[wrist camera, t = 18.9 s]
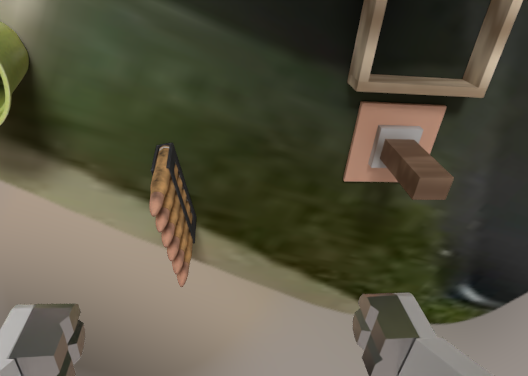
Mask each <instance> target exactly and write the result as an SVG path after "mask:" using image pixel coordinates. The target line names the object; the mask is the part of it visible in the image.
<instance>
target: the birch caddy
mask: <svg viewBox="0 0 528 376" xmlns="http://www.w3.org/2000/svg"><path fill="white" fill-rule="evenodd" d="M522 2H523V0H491V2H490V5H489V8H488V10H487V13H486V16H485V19H484V21H483V24H482V27H481V30H480V32H479V35H478V38H477V40H476V43H475V46H474V49H473V51H472V54H471V57H470V60H469V62H468V65H467V68H466V70H465V73H464V76H463V79H449V78H431V77H414V76H397V75H379V74H370V72H371V68H372V64H373V59H374V55H375V51H376V47H377V42H378V38H379V34H380V30H381V25H382V21H383V17H384V13H385V8H386V4H387V0H364V3H363V8H362V13H361V18H360V22H359V27H358V32H357V37H356V42H355V47H354V51H353V56H352V61H351V66H350V71H349V76H348V81H347V83H348V84H349V85H350V86H351V87H352V88H353V89H354V90H355V91H358V92H378V93H398V94H418V95H438V96H458V97H478V98H483V97H484V95H485V93H486V90H487V88H488V85H489V83H490V80H491V78H492V75H493V73H494V70H495V68H496V66H497V63H498V61H499V58H500V56H501V53H502V51H503V48H504V46H505V43H506V41H507V38H508V36H509V34H510V31H511V29H512V26H513V24H514V21H515V19H516V16H517V14H518V11H519V9H520V6H521V4H522Z"/></svg>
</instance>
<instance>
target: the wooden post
mask: <svg viewBox="0 0 528 376" xmlns="http://www.w3.org/2000/svg"><path fill="white" fill-rule="evenodd" d="M422 133H423V129H422V128H421V127H420V126H401V125H378V128H377V132H376V136H375V139H374V143H373V147H372V151H371V155H370V158H369V162H368V164H369V165H370V167H371V168H388V169H389V171H390V172H391V173H392V174H393V176H394V177H395V178H396V180H397V181H398V182H399V183H400V185H401V186H402V187H403V188H404V190H405V191H406V192H407V193H408V195H409V196H410V197H411V198H412V200H445V199H446V197H447V194H448V192H449V189H450V187H451V184H452V182H453V180H454V177H453V176H452V175H451V174H450V173H449V172H447V171H446V170H445V169H444V168H443V167H442V166H441V165H440V164H439V163H438V162H437V161H436V160H435V159H434V158H433V157H432V156H431V155H430V154H429V153H428V152H427V151H425V150H424V149H423V148H422V147H421V146H420V145H419V142H420V139H421V136H422Z"/></svg>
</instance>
